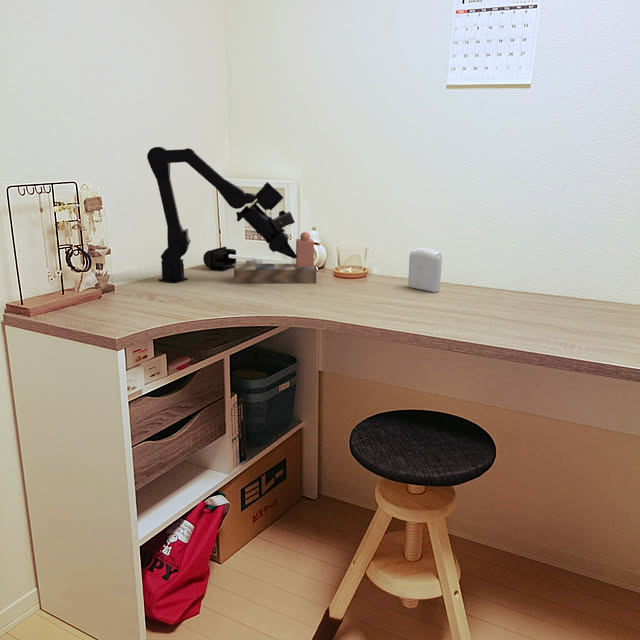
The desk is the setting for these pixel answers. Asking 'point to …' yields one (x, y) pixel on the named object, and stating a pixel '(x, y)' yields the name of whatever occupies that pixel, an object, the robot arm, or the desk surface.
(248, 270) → the track
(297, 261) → the pawn
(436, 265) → the photo printer
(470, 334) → the desk surface
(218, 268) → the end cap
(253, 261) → the die
